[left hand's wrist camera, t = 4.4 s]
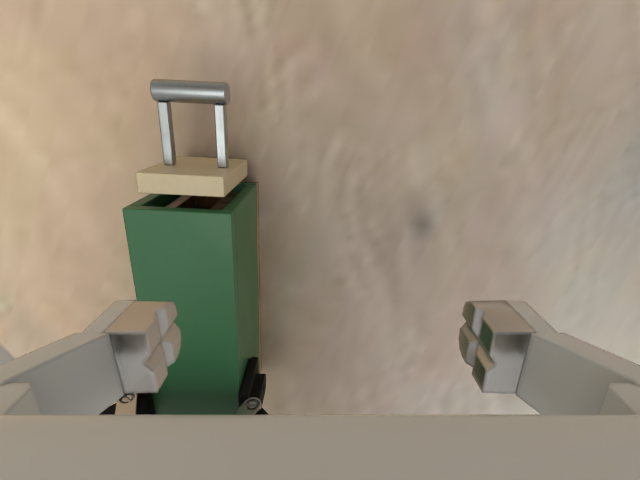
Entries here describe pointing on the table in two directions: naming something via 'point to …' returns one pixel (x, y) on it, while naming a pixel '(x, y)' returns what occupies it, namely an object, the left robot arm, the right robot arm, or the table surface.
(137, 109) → the table surface
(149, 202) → the cabinet
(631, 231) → the table surface
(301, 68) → the table surface
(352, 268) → the table surface
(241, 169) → the drawer
